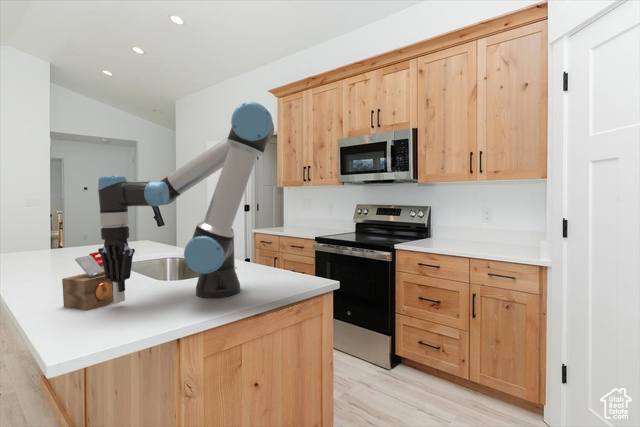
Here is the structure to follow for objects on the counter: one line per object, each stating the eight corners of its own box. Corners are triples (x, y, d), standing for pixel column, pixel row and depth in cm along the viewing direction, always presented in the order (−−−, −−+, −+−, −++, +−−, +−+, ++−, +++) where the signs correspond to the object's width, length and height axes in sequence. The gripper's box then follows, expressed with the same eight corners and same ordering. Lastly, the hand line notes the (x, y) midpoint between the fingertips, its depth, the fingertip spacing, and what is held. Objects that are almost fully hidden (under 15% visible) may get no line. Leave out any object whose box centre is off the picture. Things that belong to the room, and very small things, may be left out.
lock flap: (105, 274, 117) (107, 272, 117) (89, 278, 112) (90, 276, 112) (90, 257, 119) (92, 254, 119) (73, 260, 114) (75, 257, 114)
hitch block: (119, 299, 120) (117, 273, 119) (86, 310, 109) (84, 281, 109) (97, 296, 124) (96, 270, 123) (63, 307, 113) (62, 278, 112)
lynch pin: (113, 297, 117) (112, 280, 116) (97, 302, 112) (96, 284, 111) (89, 294, 121) (88, 277, 120) (72, 299, 116) (71, 281, 115)
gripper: (140, 225, 112) (145, 300, 113) (110, 224, 117) (115, 296, 118) (119, 227, 105) (124, 307, 106) (88, 227, 110) (93, 303, 111)
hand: (119, 301), depth 112 cm, fingers closed
